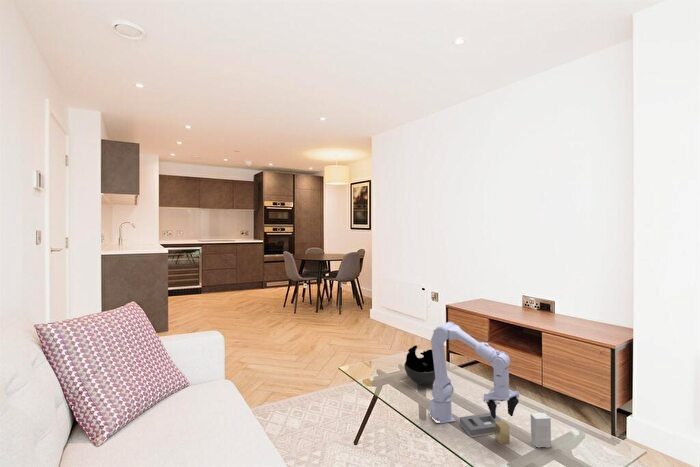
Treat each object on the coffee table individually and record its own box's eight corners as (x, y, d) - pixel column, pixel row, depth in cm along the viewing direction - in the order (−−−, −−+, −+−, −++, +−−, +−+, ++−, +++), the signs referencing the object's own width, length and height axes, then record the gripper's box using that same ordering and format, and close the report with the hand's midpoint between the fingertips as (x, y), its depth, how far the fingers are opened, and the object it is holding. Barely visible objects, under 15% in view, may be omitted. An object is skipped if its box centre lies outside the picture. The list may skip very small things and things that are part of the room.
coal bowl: (445, 390, 193) (444, 355, 192) (407, 392, 193) (406, 357, 192) (437, 374, 213) (436, 342, 212) (402, 375, 213) (401, 343, 212)
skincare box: (545, 441, 149) (544, 412, 148) (551, 447, 145) (551, 418, 144) (530, 441, 149) (530, 413, 148) (536, 448, 144) (535, 419, 144)
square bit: (500, 444, 148) (500, 427, 148) (495, 438, 152) (494, 421, 151) (509, 442, 149) (509, 426, 148) (503, 436, 153) (503, 420, 152)
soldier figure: (511, 404, 179) (491, 401, 176) (505, 407, 182) (485, 404, 179) (507, 388, 184) (487, 384, 181) (500, 391, 188) (481, 388, 185)
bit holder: (471, 437, 153) (471, 430, 153) (459, 423, 163) (459, 417, 163) (506, 431, 156) (506, 424, 156) (492, 418, 166) (492, 412, 166)
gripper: (490, 390, 144) (491, 424, 144) (523, 385, 146) (524, 418, 147) (480, 382, 151) (481, 414, 151) (512, 378, 153) (513, 409, 154)
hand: (501, 416), depth 150 cm, fingers open, 7 cm apart
